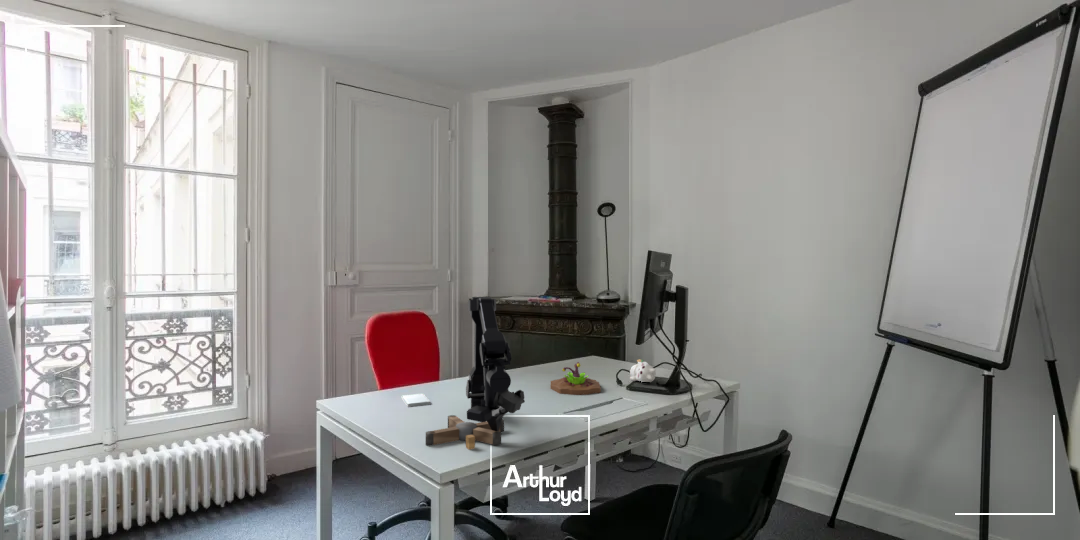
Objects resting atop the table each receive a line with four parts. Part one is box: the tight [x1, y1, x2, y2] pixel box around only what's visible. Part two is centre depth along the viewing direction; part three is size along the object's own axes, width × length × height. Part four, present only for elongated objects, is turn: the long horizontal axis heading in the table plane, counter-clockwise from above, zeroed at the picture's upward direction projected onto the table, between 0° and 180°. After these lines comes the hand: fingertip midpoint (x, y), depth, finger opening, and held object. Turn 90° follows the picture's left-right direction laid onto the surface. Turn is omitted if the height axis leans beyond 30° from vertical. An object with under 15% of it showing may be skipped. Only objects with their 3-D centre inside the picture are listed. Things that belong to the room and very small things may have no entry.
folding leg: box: [473, 427, 502, 446], centre depth 158 cm, size 9×3×3 cm, turn 58°
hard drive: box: [401, 393, 432, 408], centre depth 201 cm, size 2×8×12 cm
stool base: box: [425, 414, 505, 451], centre depth 163 cm, size 22×25×4 cm
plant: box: [550, 361, 602, 396], centre depth 220 cm, size 20×20×11 cm
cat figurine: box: [629, 358, 657, 383], centre depth 231 cm, size 10×8×15 cm
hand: (495, 435), depth 159 cm, fingers closed
